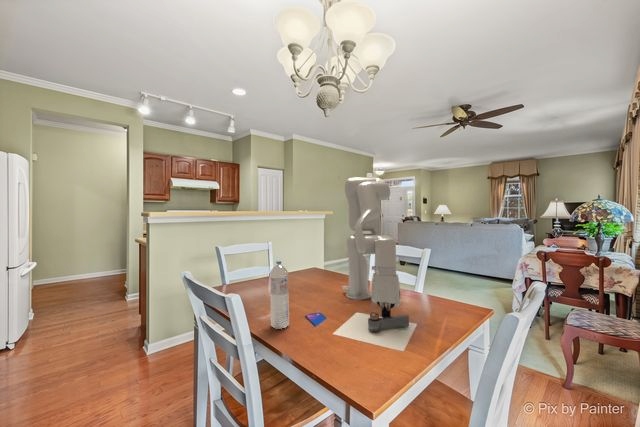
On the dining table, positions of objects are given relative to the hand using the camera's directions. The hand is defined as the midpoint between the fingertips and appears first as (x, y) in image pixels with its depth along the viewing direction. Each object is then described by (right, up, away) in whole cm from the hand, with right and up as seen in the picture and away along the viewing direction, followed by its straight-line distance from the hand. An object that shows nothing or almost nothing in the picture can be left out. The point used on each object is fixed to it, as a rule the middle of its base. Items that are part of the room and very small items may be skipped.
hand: (386, 319), depth 101 cm
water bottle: (-40, -4, +2) cm, 40 cm away
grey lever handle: (0, -1, -5) cm, 5 cm away
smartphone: (-25, -4, +6) cm, 26 cm away
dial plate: (-5, -3, -4) cm, 7 cm away
